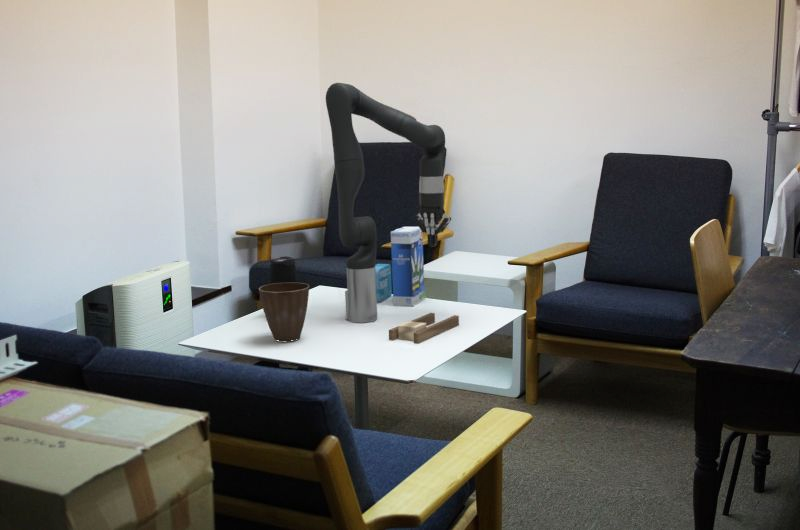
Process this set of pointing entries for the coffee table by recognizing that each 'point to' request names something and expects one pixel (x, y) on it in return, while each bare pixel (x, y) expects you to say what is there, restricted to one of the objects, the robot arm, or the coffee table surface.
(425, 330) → the walnut chute
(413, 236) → the string lights box
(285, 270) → the portable speaker
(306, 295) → the plant pot
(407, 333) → the maple block
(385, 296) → the data package
